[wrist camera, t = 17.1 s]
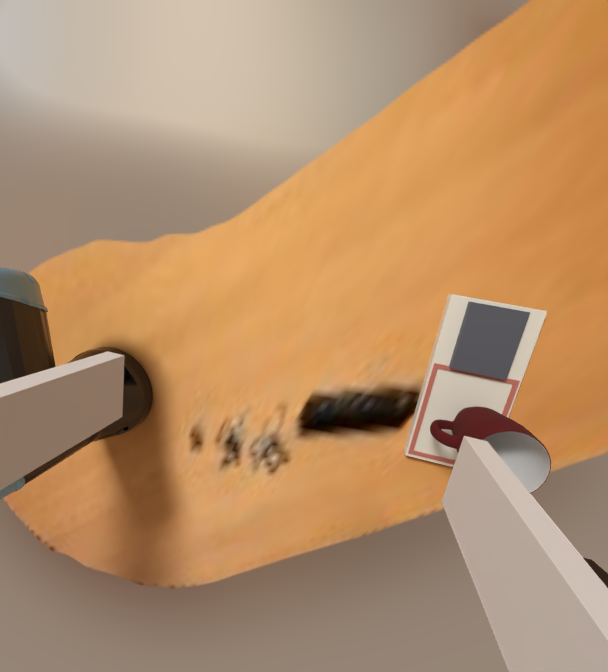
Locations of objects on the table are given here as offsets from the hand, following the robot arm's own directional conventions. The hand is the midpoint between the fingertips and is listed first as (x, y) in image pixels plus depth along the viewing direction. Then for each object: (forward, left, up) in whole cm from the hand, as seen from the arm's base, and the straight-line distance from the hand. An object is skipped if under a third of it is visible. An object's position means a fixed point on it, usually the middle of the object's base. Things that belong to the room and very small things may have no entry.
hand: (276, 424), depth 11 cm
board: (+20, -6, -32) cm, 38 cm away
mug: (+20, -11, -31) cm, 38 cm away
